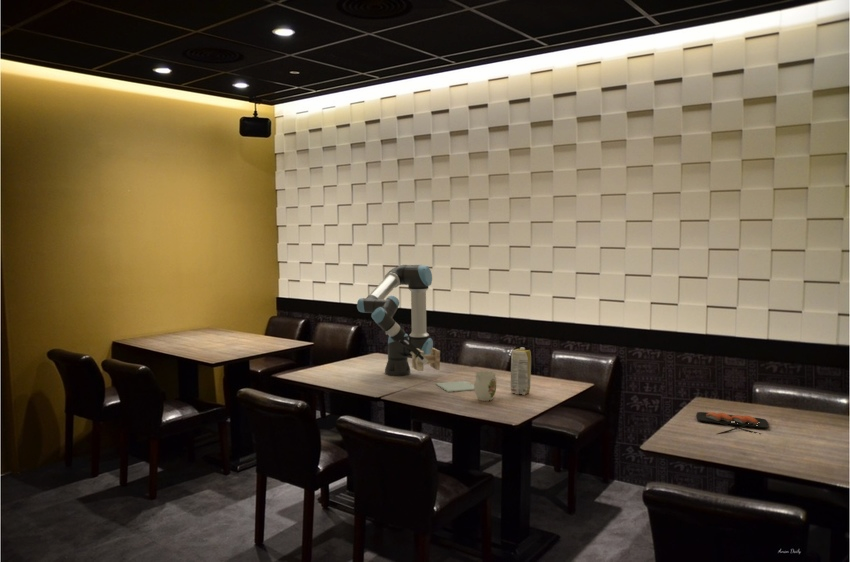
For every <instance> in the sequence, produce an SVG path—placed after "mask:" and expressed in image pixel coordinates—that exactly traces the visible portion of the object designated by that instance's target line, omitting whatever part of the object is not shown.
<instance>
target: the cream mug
mask: <svg viewBox="0 0 850 562" xmlns="http://www.w3.org/2000/svg"><path fill="white" fill-rule="evenodd" d="M474 374H475V380H474V382H473V383H474V384H473V385H474V389H475V390H474V393H475V396H476V398H477V399H478V401H481V400H482V401H483V402H489V400H490V401H492V399H493V398H494V397H495V394H496V390H497V376H496V375H497V374H496V372H493V371H487V370H486V371H485V370H484V371H483V370H482V371H475V373H474Z"/></svg>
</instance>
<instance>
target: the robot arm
mask: <svg viewBox="0 0 850 562" xmlns="http://www.w3.org/2000/svg"><path fill="white" fill-rule="evenodd" d="M432 281H433V274H432V270H431V269H430V267H429V266H427V265H422V264H400V265H398V266H396V267H394V268H392V269H390V270H389V271H388V272H387V273H386V274H385V275H384V278H383V279H382V281H381V282H380V283H379V284H378V285H377V286H376V287H375V288H374V289H373V290H372V291H371V292H370V293H369V295H367V297H366V298H364V297H362V298H359V299H358V300H357V302H356V308H357V310H358V312H360V313H363V314H364V313H365V314H371V318H372V321H374V322H375V323H376V324H377V326H379V327H380V328H381V329H382V331H384V332H385V335H386V336H387V335H388V340H387V362H386V365H385V368H384V374H385V375H387V374H388V376H393V375H394V376H396V377H401V376H408V375H411V367H410V364H409V361H408V358H412V352H413V353H414V354H415V355H416V358H417V357H418V358H419V360H420V361H421V362H422V363H423V364H424V366H425V365H427V362H428V360H427V359H426V358H425V357H424V356H423V355H422V354H421V352H420V351H419V350H418V349H420V350H422V351H424V355H427V354H431V348H434V347H433V346H434V342H433V339H432V338H431V337H430V334H429V333H428V332H427V291H428V289H429V287H430V286H431V285H432ZM402 285H403V286H404V285H406V286H408V287H407V288H408V290H409V292H410V296H411V297H410V305H411V307H410V308H411V332H410V334H409V335H408V333H406V331H405V330H404V329H403V328H402V327H401V325H400V324H399V323H398V322H396V320H394V316H395V314H396V312H397V310H398V308H399V306H400V299H399V298H397V297H396V296H394V295H390V296H388V295H389V294H390V293H391V292H392V291H393V290H394V289H395V288H398V287H399V286H402ZM417 348H418V349H417Z"/></svg>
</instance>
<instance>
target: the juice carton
mask: <svg viewBox="0 0 850 562" xmlns="http://www.w3.org/2000/svg"><path fill="white" fill-rule="evenodd" d="M531 354H532V352H531V349H526V348H525V347H519V348H516V349H515V348H514V349H512V350H511V357H510V393H511V394H513V393H515V394H514V395H519V394H522V395H521V396H526V395H528V394H529V393H530V390H531V375H532V372H531V371H532V355H531ZM527 393H528V394H527ZM525 394H526V395H525Z"/></svg>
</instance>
